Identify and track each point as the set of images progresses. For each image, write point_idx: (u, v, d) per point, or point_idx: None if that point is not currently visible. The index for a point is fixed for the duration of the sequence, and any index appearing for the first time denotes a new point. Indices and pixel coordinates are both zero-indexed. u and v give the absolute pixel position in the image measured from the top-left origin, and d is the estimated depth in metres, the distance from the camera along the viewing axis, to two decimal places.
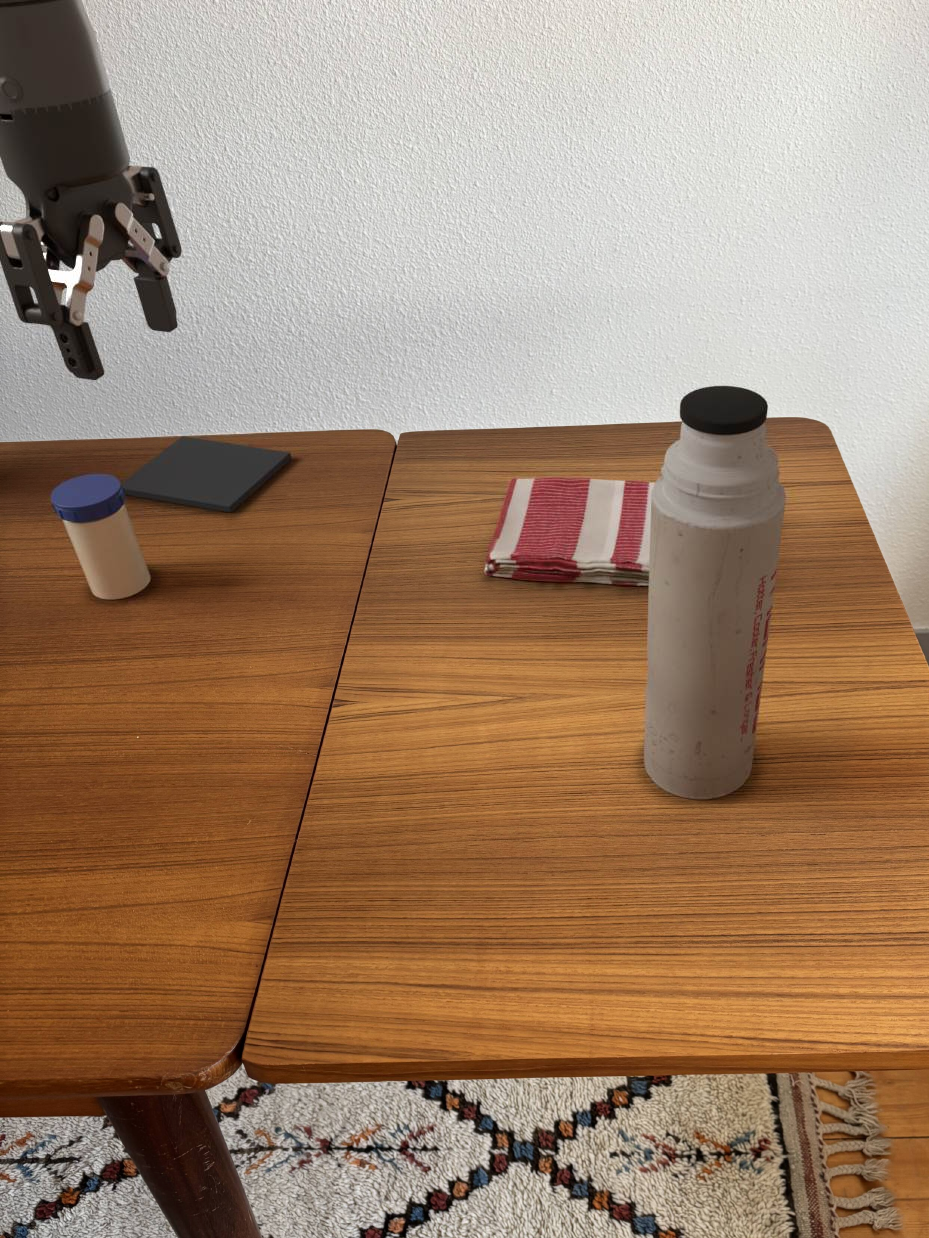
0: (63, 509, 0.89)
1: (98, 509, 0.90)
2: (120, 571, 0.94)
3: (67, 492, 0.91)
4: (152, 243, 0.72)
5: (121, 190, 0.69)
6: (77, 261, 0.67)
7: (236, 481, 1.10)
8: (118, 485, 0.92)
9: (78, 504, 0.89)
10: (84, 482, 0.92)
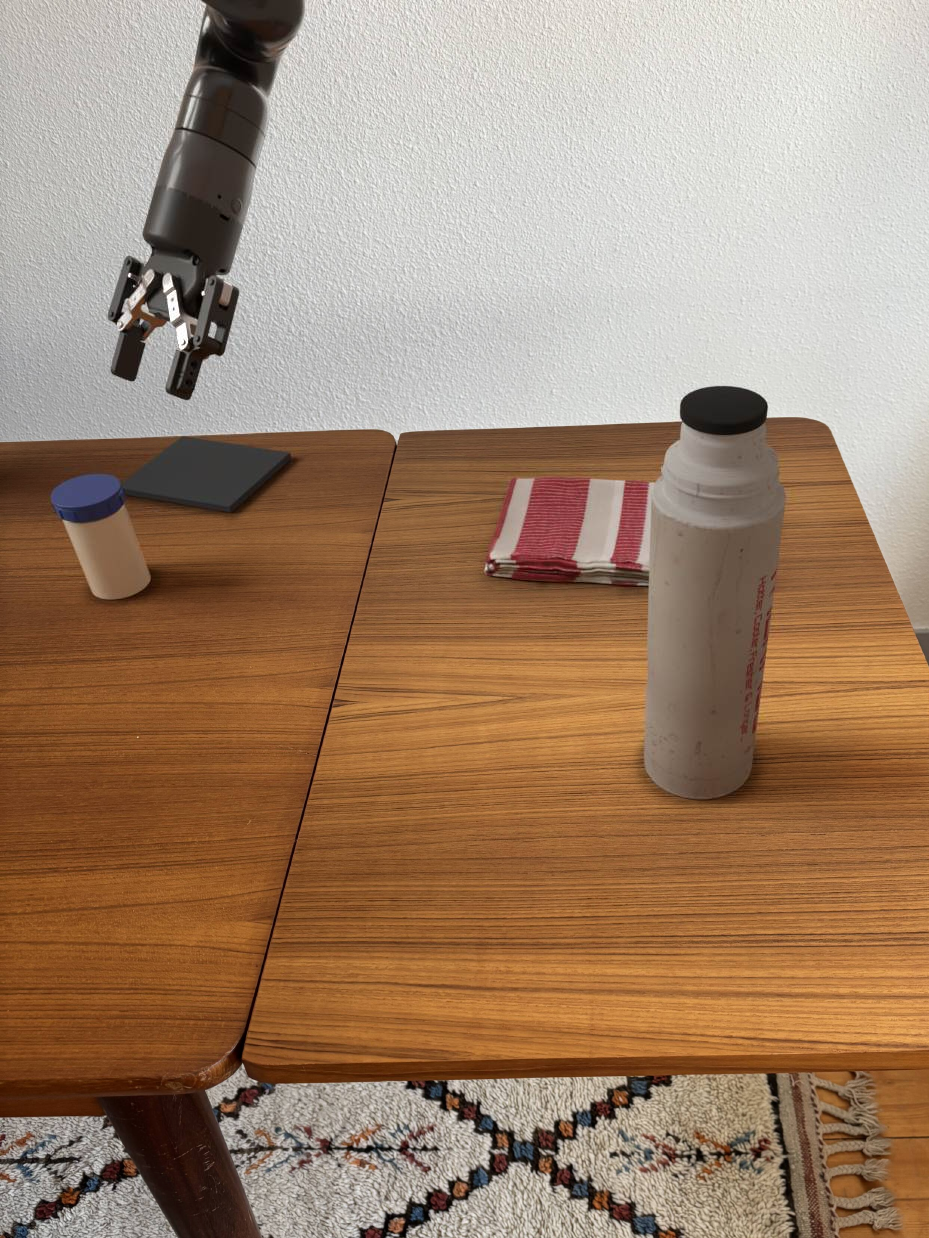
0: (63, 509, 0.89)
1: (98, 509, 0.90)
2: (120, 571, 0.94)
3: (67, 492, 0.91)
4: None
5: None
6: None
7: (236, 481, 1.10)
8: (118, 485, 0.92)
9: (78, 504, 0.89)
10: (84, 482, 0.92)
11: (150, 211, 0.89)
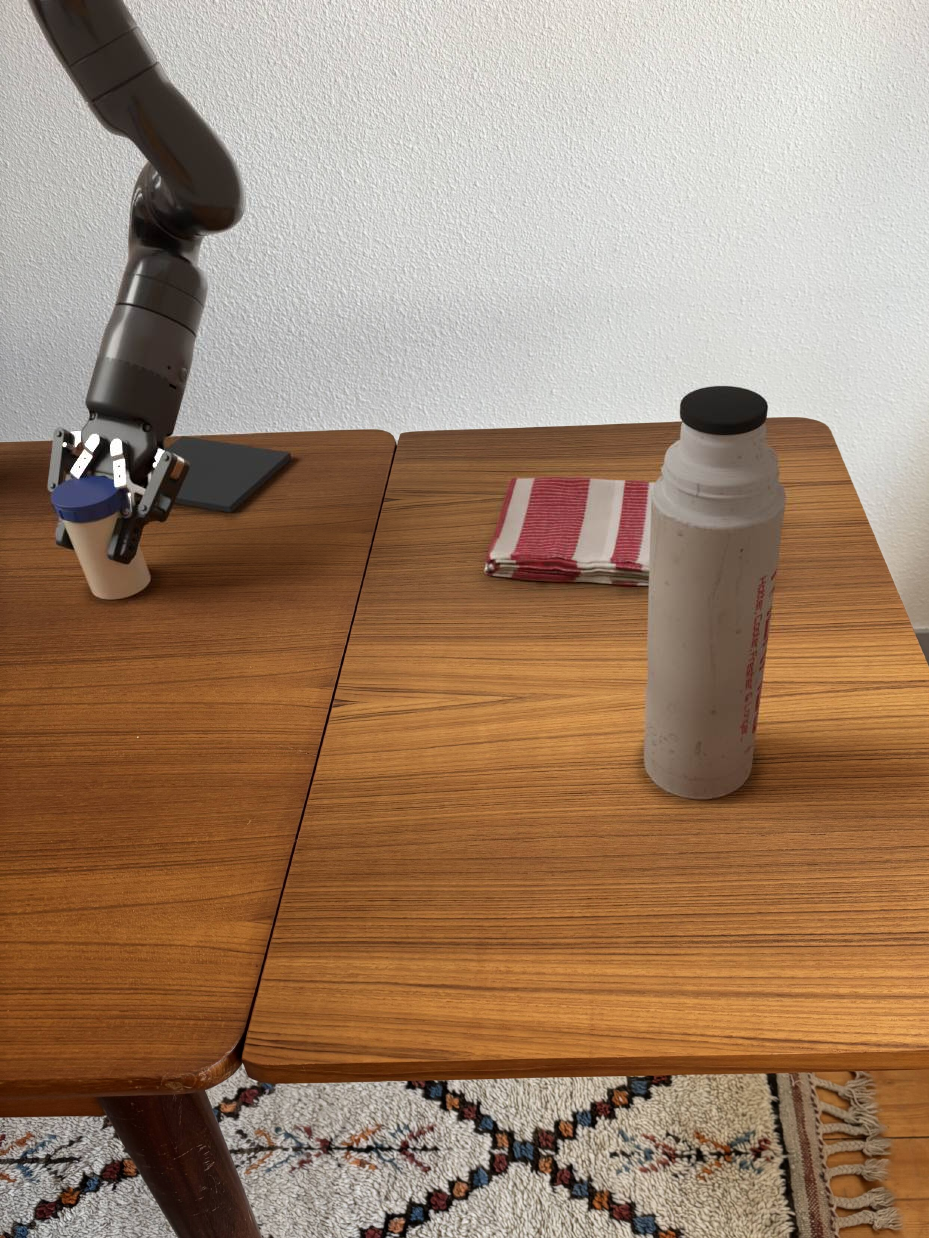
0: (63, 509, 0.89)
1: (98, 509, 0.90)
2: (120, 571, 0.94)
3: (67, 492, 0.91)
4: None
5: None
6: None
7: (236, 481, 1.10)
8: None
9: (78, 504, 0.89)
10: (84, 482, 0.92)
11: (96, 381, 0.90)
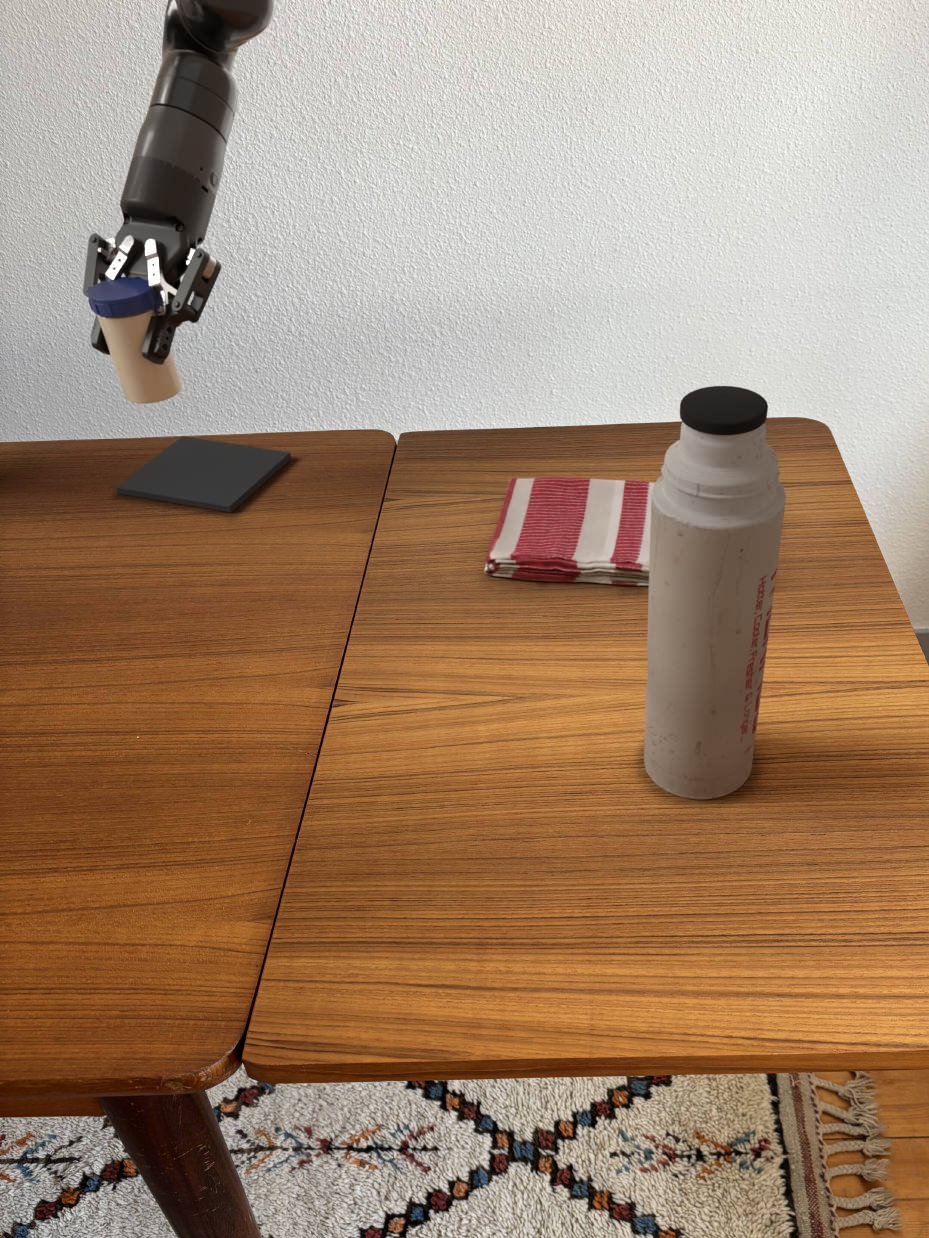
0: (99, 303, 0.92)
1: (133, 303, 0.93)
2: (153, 373, 0.97)
3: (103, 289, 0.94)
4: None
5: None
6: None
7: (236, 481, 1.10)
8: None
9: (114, 298, 0.92)
10: (119, 282, 0.95)
11: (131, 180, 0.93)
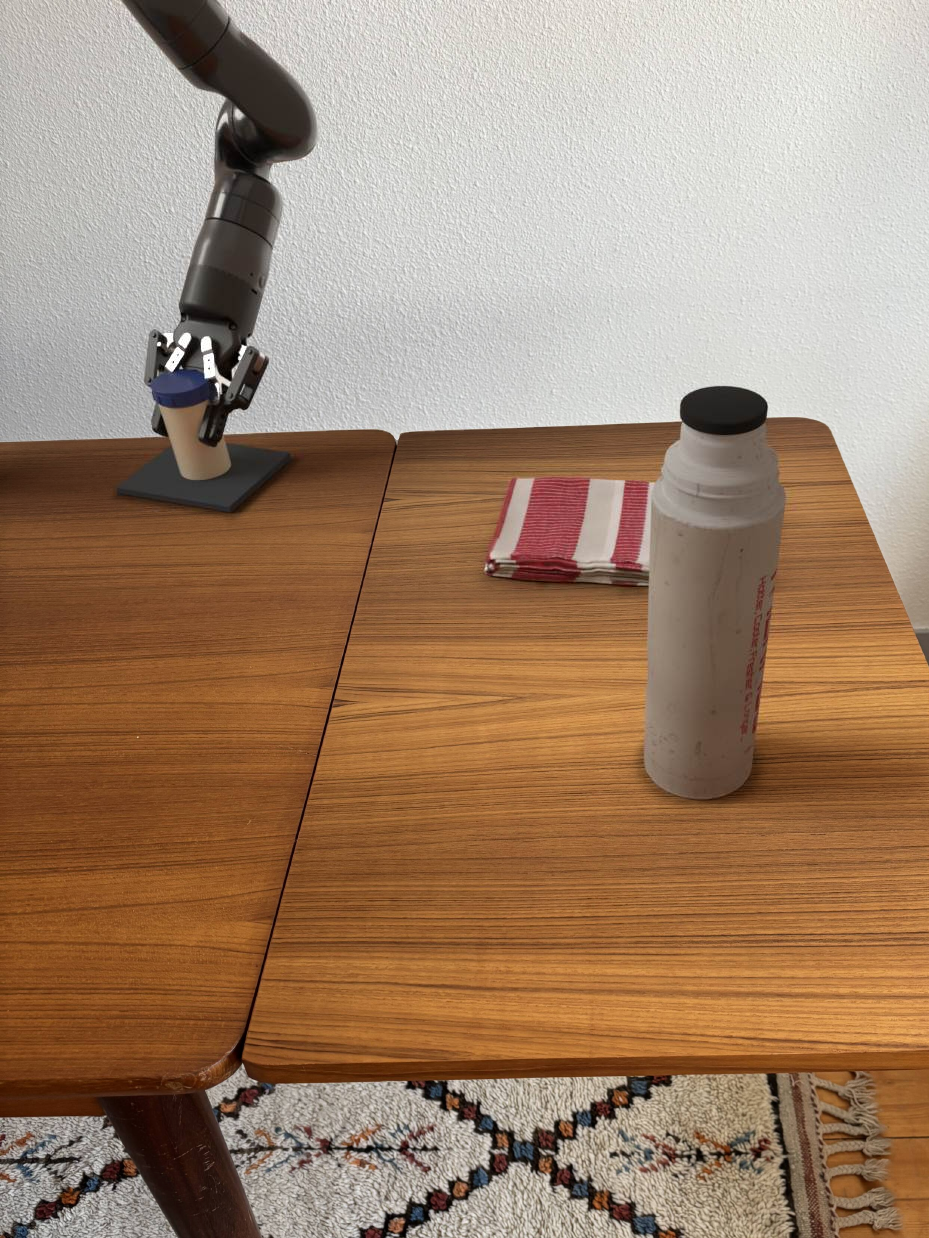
0: (162, 395, 1.04)
1: (192, 395, 1.04)
2: (207, 454, 1.08)
3: (164, 382, 1.05)
4: None
5: None
6: None
7: (236, 481, 1.10)
8: None
9: (175, 391, 1.04)
10: (178, 375, 1.06)
11: (190, 285, 1.05)
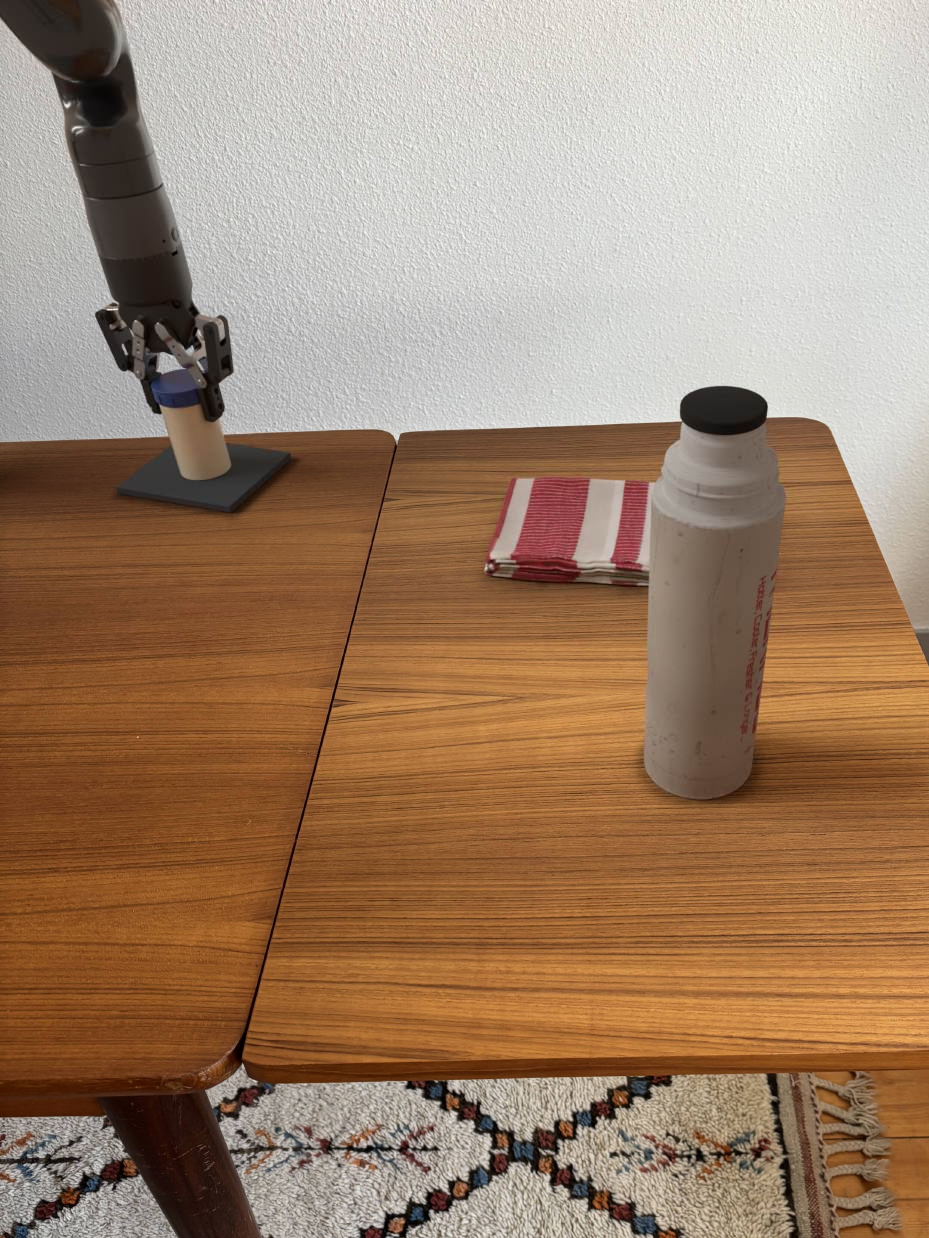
0: (162, 395, 1.04)
1: (192, 395, 1.04)
2: (207, 454, 1.08)
3: (165, 382, 1.05)
4: None
5: None
6: None
7: (236, 481, 1.10)
8: None
9: (176, 390, 1.04)
10: (178, 375, 1.06)
11: (113, 281, 0.96)
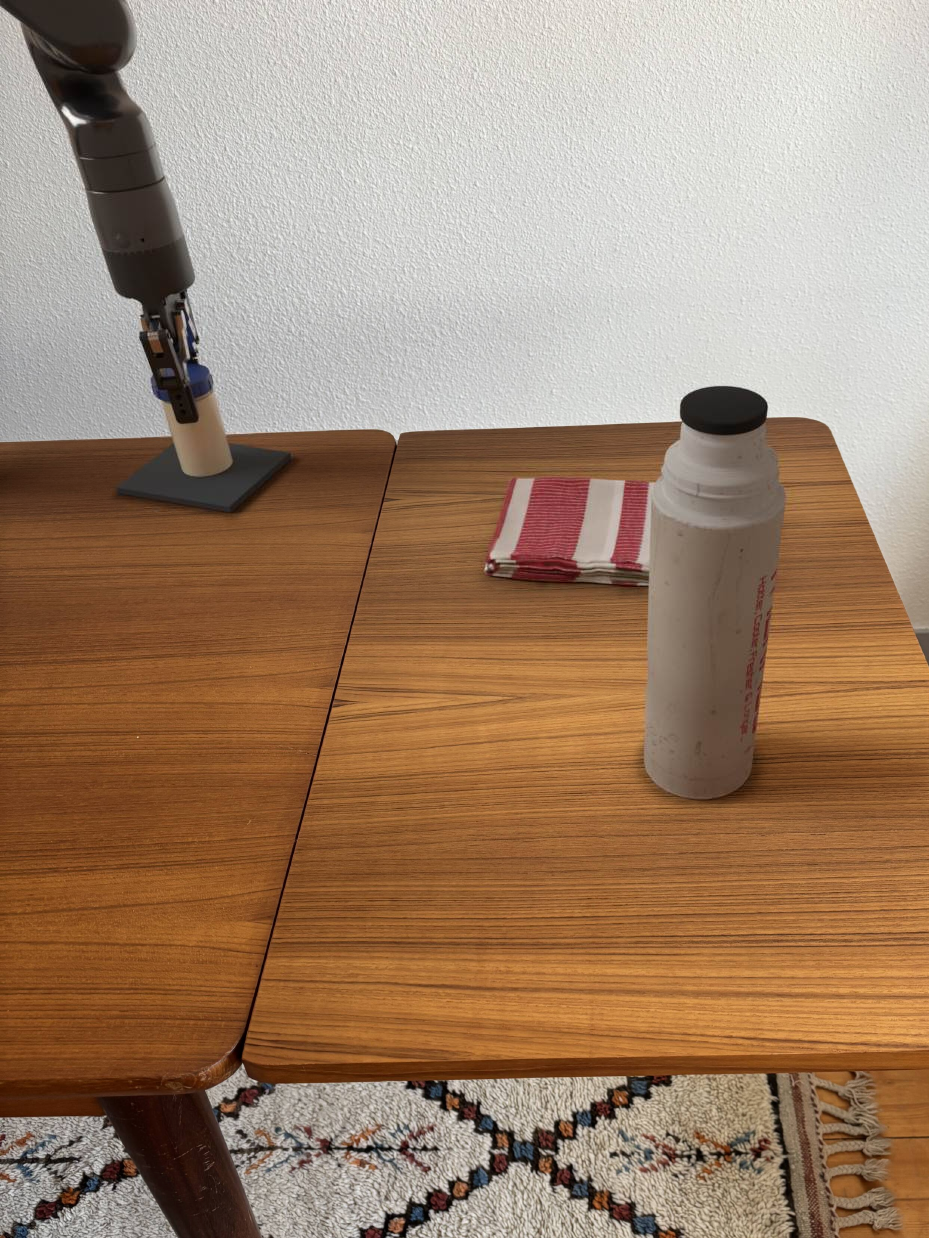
0: (209, 376, 1.06)
1: None
2: (212, 450, 1.09)
3: None
4: None
5: None
6: None
7: (236, 481, 1.10)
8: None
9: (203, 368, 1.07)
10: None
11: (186, 262, 0.98)
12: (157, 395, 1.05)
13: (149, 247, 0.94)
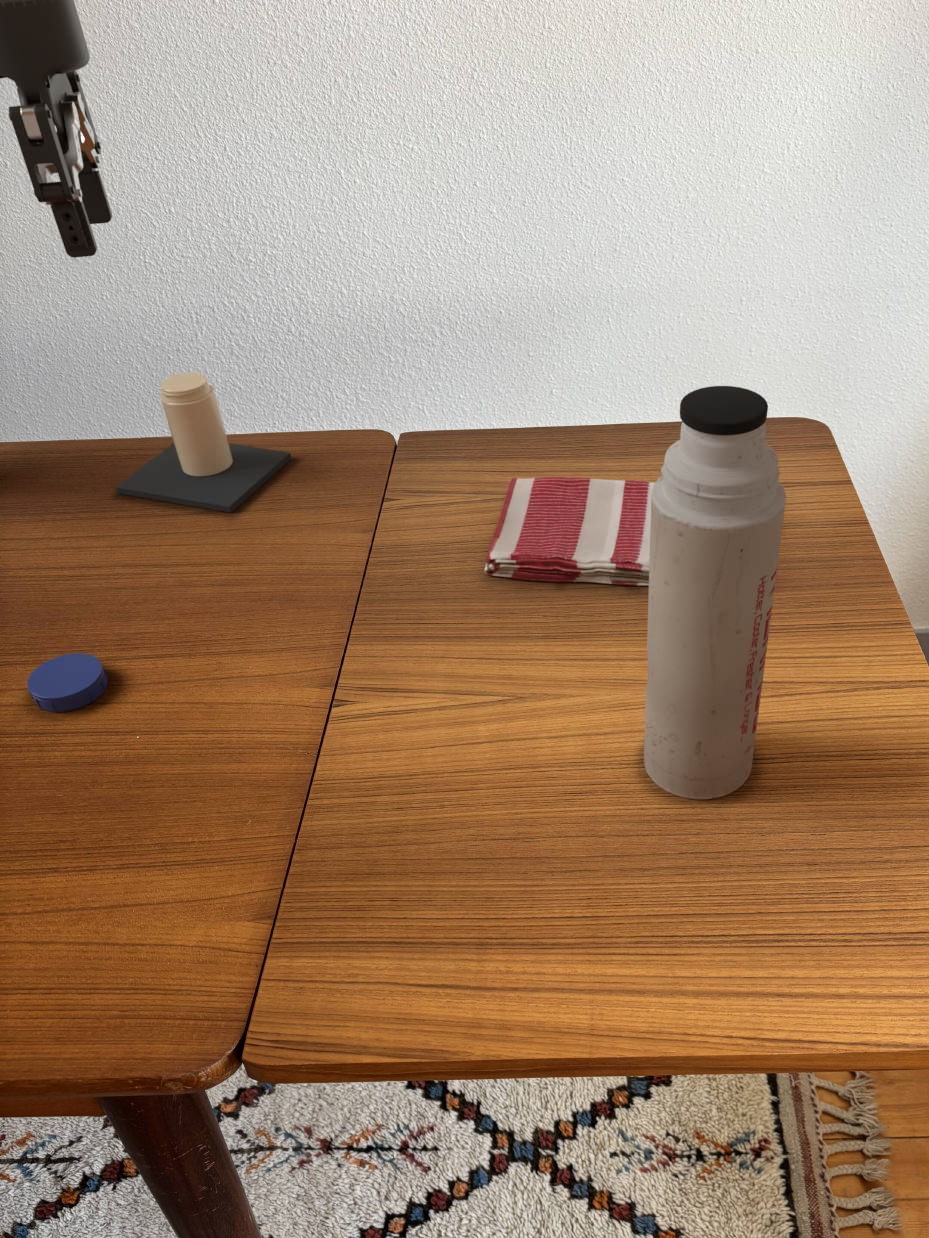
0: (102, 674, 0.86)
1: None
2: (212, 449, 1.09)
3: (72, 683, 0.85)
4: None
5: None
6: None
7: (236, 481, 1.10)
8: (50, 660, 0.87)
9: (95, 663, 0.86)
10: (49, 683, 0.85)
11: (76, 30, 0.74)
12: (36, 703, 0.85)
13: None
